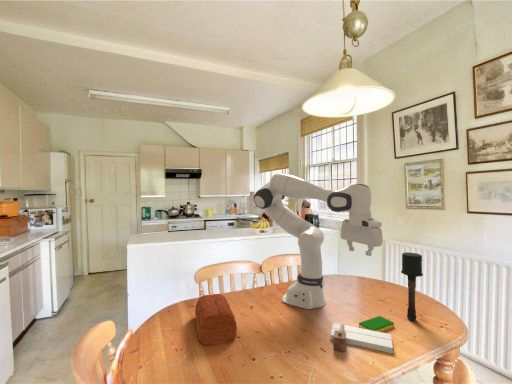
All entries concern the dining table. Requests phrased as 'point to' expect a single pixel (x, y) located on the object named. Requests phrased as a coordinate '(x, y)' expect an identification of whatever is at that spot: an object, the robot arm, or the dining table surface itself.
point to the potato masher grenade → (411, 279)
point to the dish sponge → (377, 324)
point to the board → (365, 338)
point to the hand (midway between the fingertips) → (359, 253)
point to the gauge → (339, 339)
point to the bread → (215, 320)
